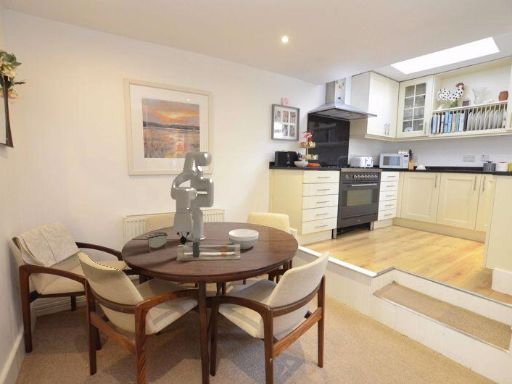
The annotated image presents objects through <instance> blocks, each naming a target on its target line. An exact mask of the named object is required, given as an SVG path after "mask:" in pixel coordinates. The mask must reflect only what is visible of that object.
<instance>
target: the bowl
mask: <svg viewBox="0 0 512 384" xmlns="http://www.w3.org/2000/svg"><path fill="white" fill-rule="evenodd" d="M228 236H229V242H230V243H231V245H237V244H240V250H245V249H246V250H247V249H251V248H252V247H253V246H254V245H256V243H257V241H258V238H259V231H257V230H255V229H249V228H248V229H247V228H241V229H240V228H239V229H237V228H236V229H233V230H230V231H229V232H228Z"/></svg>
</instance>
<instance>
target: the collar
mask: <svg viewBox="0 0 512 384" xmlns="http://www.w3.org/2000/svg"><path fill="white" fill-rule="evenodd" d="M192 246H193V251H192V253H193V257H199V255H200V253H201V251H199V246H201V240H200V238H195V239H194V241H192Z"/></svg>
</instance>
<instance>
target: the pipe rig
mask: <svg viewBox="0 0 512 384" xmlns="http://www.w3.org/2000/svg"><path fill="white" fill-rule="evenodd" d="M199 251H200V255H199V257H193V245H184V244H183V245H182V244H181V245H178V246H177V258H176V261H177V262H178V261H180V262H181V261H213V260H215V261H216V260H217V261H219V260H240V259H241V249H240V244H237V245H233V244H218V245H217V244H212V245H210V244H209V245H206V244H205V245H204V244H203V245H200V246H199Z"/></svg>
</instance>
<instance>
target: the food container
mask: <svg viewBox="0 0 512 384" xmlns="http://www.w3.org/2000/svg"><path fill="white" fill-rule="evenodd" d="M167 237H168V232H166V231H158V232H150V233H148V234H147V236H146V238H145V240H147V245H148V251H149V253H150V254H151V253H155V252H159V251H163V250H166V249H167V240H168V239H167Z"/></svg>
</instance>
